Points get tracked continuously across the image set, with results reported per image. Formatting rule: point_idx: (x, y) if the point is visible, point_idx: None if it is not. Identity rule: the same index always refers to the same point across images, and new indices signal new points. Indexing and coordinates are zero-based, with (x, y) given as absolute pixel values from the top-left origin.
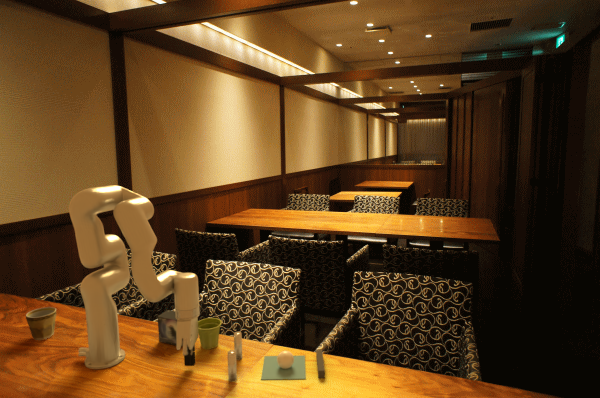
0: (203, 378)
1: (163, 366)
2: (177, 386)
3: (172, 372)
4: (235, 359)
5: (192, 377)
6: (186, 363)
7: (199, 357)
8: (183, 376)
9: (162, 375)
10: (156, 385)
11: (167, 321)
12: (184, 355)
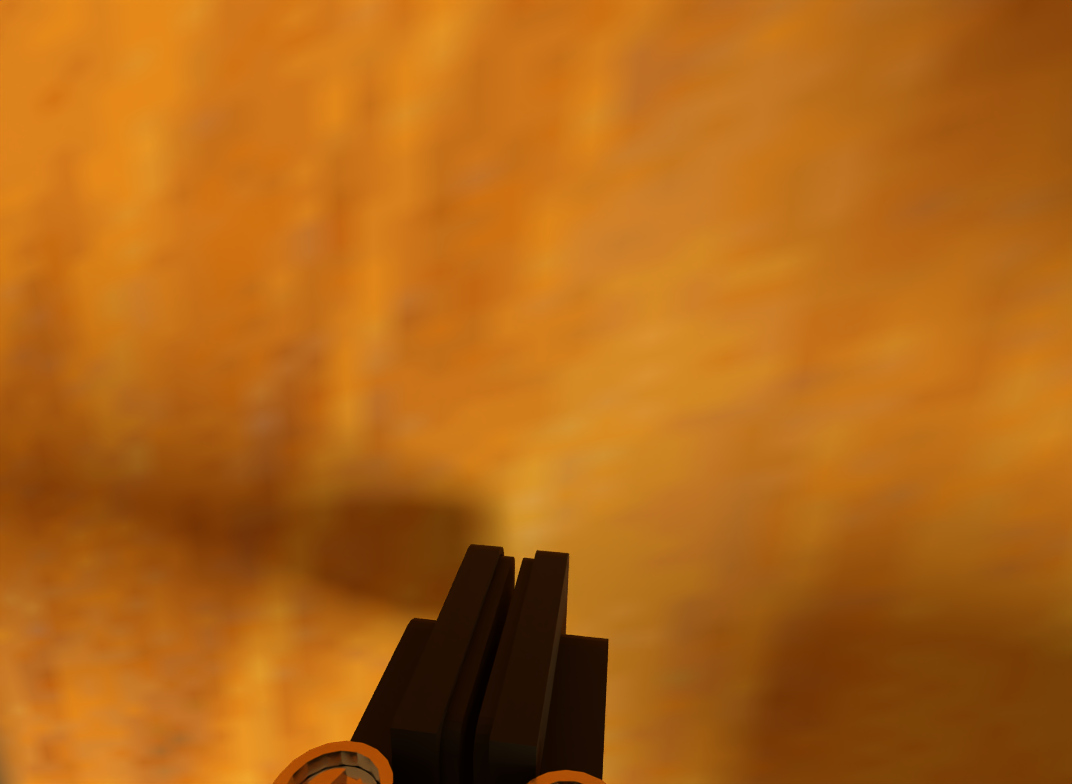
0: (281, 763)
1: (668, 13)
2: (57, 467)
3: (425, 291)
4: None
5: (293, 632)
6: (409, 626)
7: (919, 671)
8: (311, 504)
9: (320, 117)
10: (15, 111)
11: None
12: (401, 714)
